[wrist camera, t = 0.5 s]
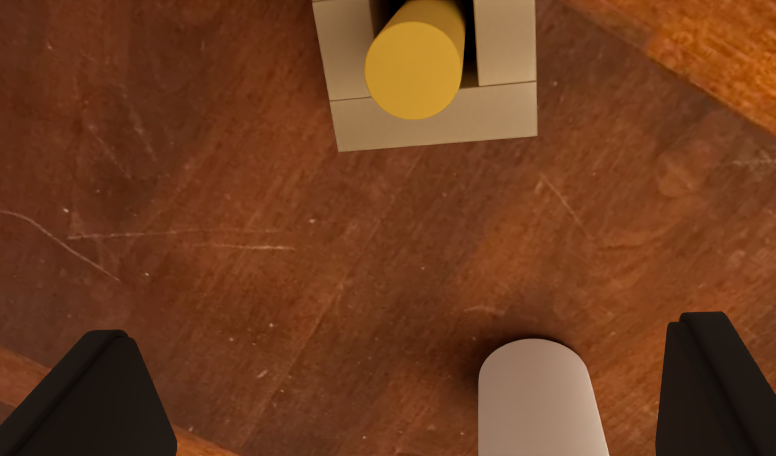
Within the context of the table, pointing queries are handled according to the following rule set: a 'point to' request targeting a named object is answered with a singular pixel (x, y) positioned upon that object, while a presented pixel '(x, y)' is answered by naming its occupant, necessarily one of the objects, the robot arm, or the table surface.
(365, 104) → the stand
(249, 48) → the table surface
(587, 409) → the can
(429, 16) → the peg
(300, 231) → the table surface
